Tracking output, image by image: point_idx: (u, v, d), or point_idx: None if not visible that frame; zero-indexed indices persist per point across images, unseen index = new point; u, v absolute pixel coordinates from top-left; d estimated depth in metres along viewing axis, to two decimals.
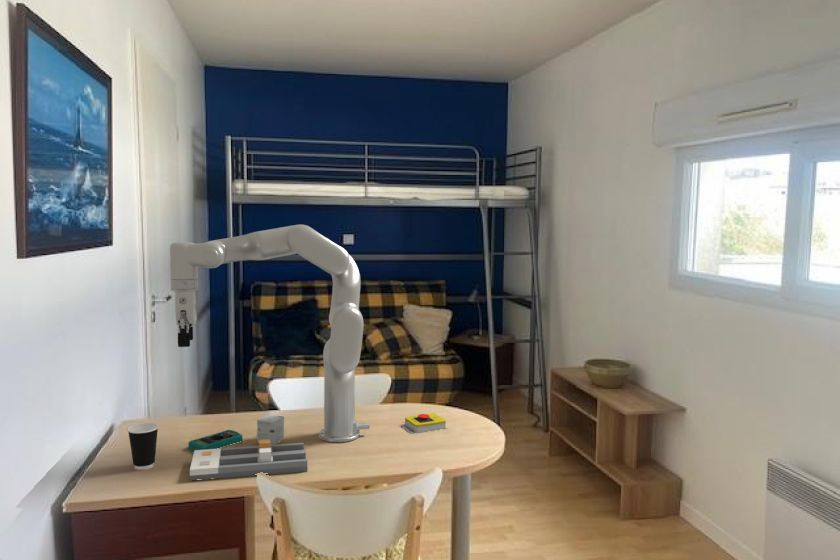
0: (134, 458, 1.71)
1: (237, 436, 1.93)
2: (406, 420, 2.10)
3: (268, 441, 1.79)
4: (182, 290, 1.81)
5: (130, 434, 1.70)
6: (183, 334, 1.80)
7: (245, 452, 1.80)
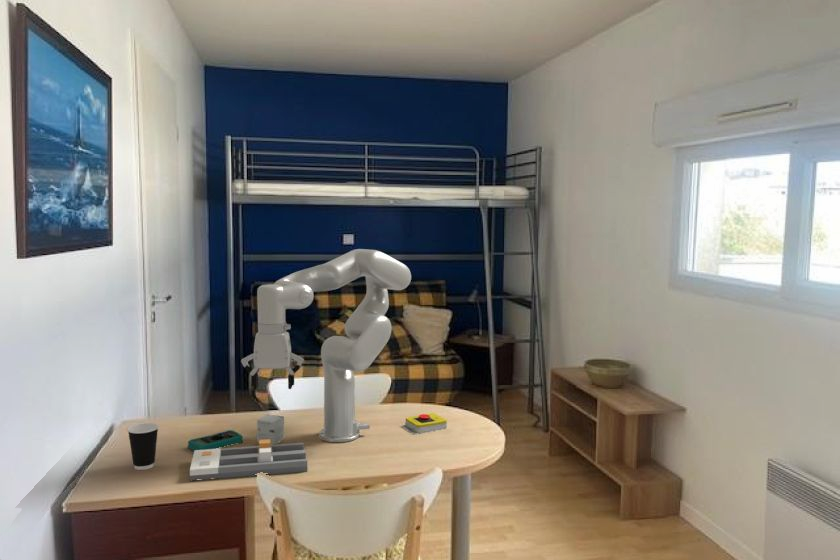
0: (134, 458, 1.71)
1: (237, 437, 1.92)
2: (407, 421, 2.10)
3: (268, 441, 1.79)
4: (284, 332, 1.79)
5: (130, 434, 1.70)
6: (293, 375, 1.81)
7: (245, 452, 1.80)
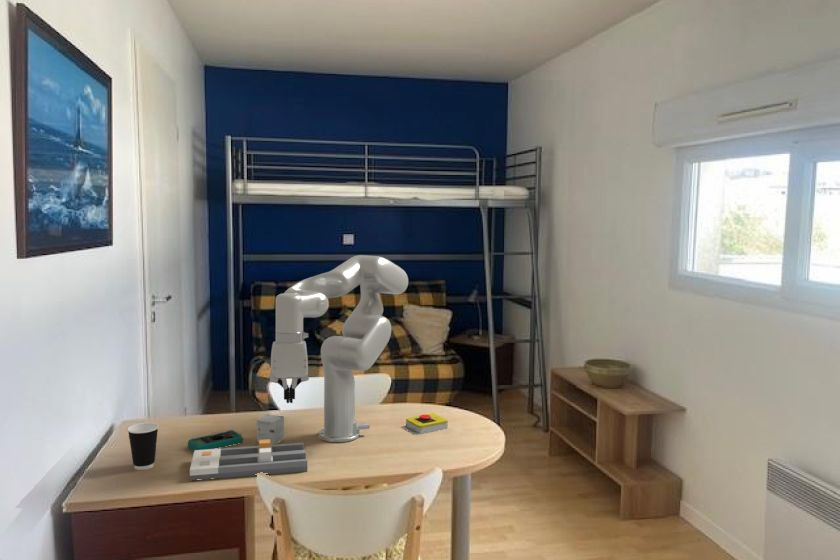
0: (134, 458, 1.71)
1: (237, 438, 1.92)
2: (408, 421, 2.09)
3: (268, 441, 1.79)
4: None
5: (130, 434, 1.70)
6: (294, 388, 1.80)
7: (245, 452, 1.80)
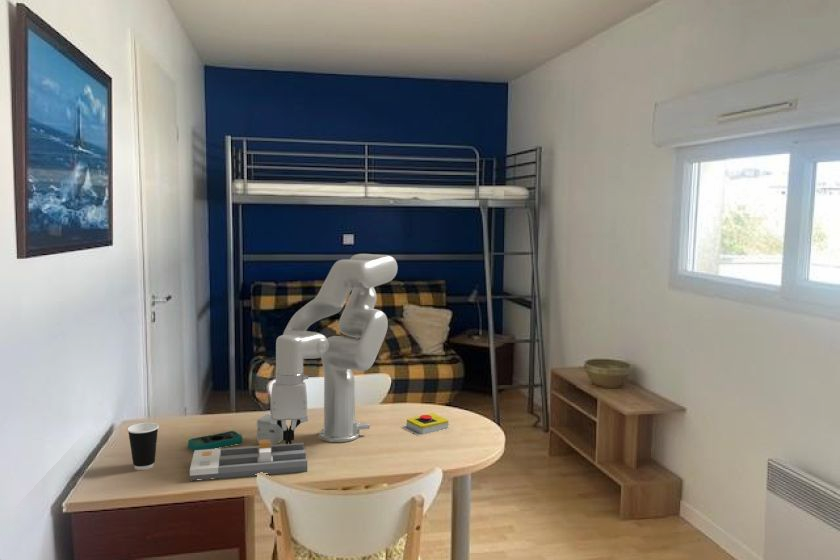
0: (134, 458, 1.71)
1: (236, 438, 1.91)
2: (408, 422, 2.08)
3: (268, 441, 1.79)
4: (302, 382, 1.80)
5: (130, 434, 1.70)
6: (293, 429, 1.81)
7: (245, 452, 1.80)
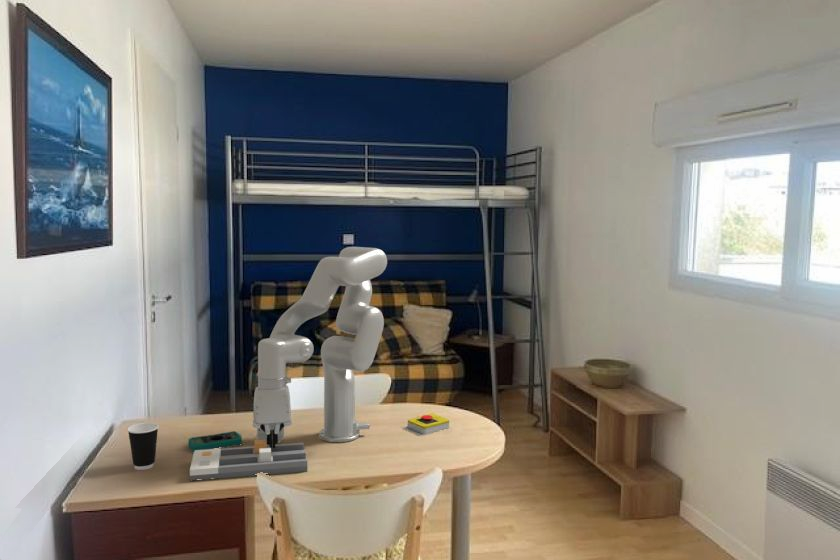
0: (134, 458, 1.71)
1: (235, 439, 1.90)
2: (410, 422, 2.08)
3: (264, 441, 1.79)
4: None
5: (130, 434, 1.70)
6: (277, 433, 1.80)
7: (245, 452, 1.80)
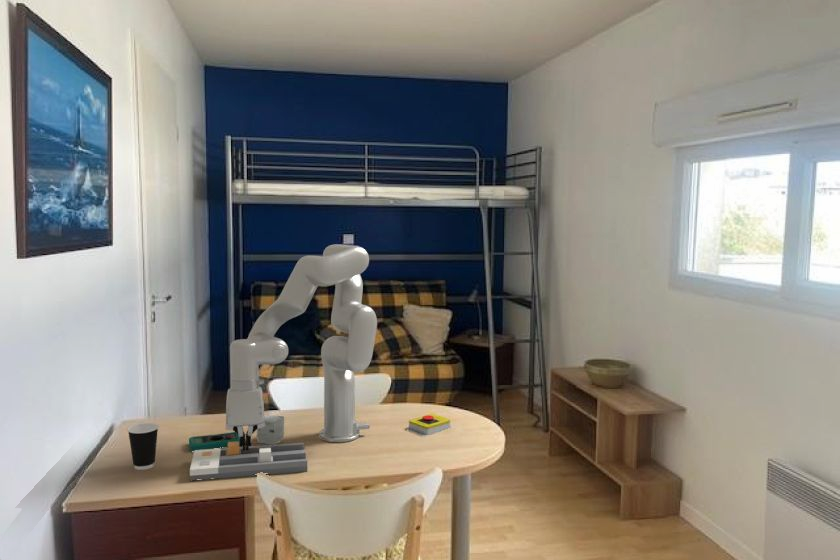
0: (134, 458, 1.71)
1: (234, 440, 1.90)
2: (411, 423, 2.07)
3: (237, 443, 1.77)
4: None
5: (130, 434, 1.70)
6: (250, 435, 1.78)
7: (245, 452, 1.80)
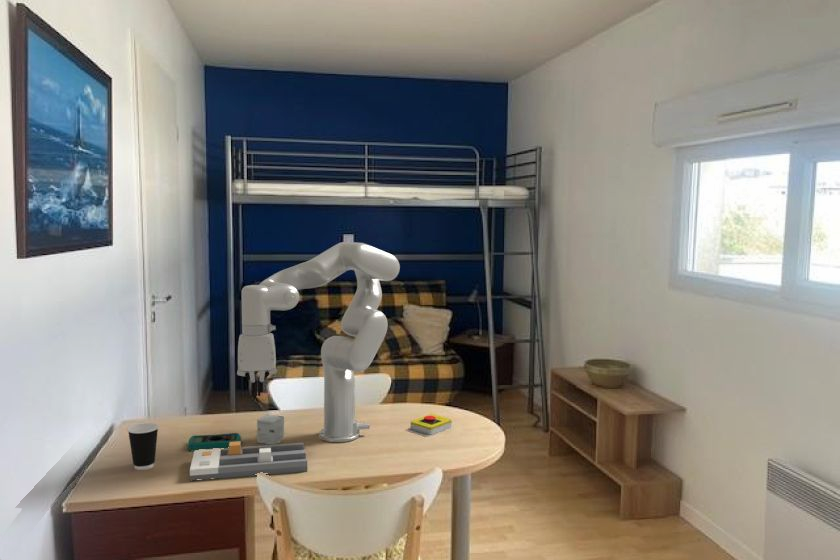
0: (134, 458, 1.71)
1: (232, 441, 1.89)
2: (413, 424, 2.06)
3: (238, 443, 1.77)
4: None
5: (130, 434, 1.70)
6: (262, 381, 1.78)
7: (245, 452, 1.80)
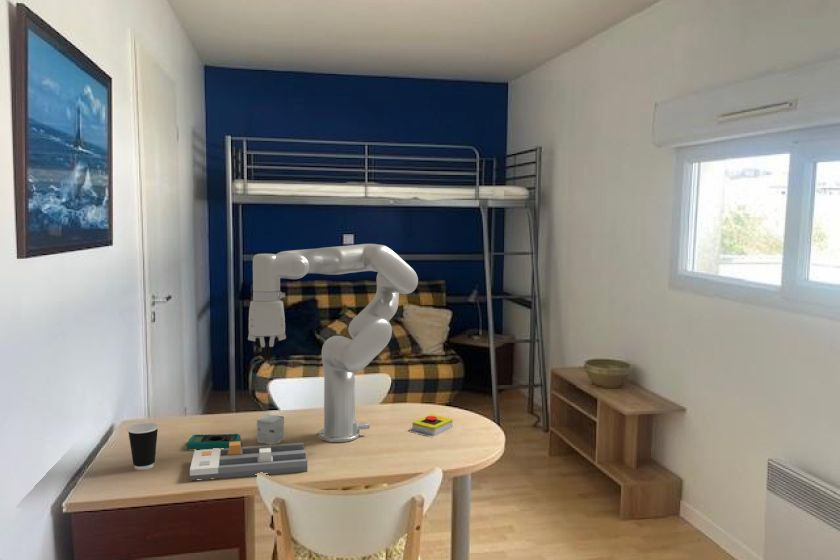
0: (134, 458, 1.71)
1: None
2: (415, 425, 2.06)
3: (238, 443, 1.77)
4: None
5: (130, 434, 1.70)
6: None
7: (245, 452, 1.80)
